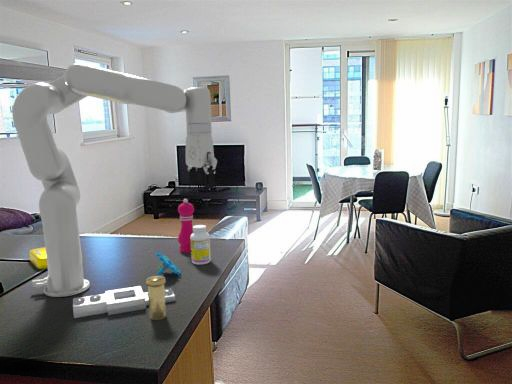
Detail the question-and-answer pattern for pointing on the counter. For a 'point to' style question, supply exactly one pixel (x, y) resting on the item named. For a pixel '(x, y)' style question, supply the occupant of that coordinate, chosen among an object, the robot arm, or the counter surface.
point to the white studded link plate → (115, 301)
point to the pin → (156, 297)
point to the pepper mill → (185, 225)
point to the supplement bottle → (200, 245)
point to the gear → (166, 264)
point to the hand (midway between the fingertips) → (201, 185)
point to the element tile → (39, 257)
